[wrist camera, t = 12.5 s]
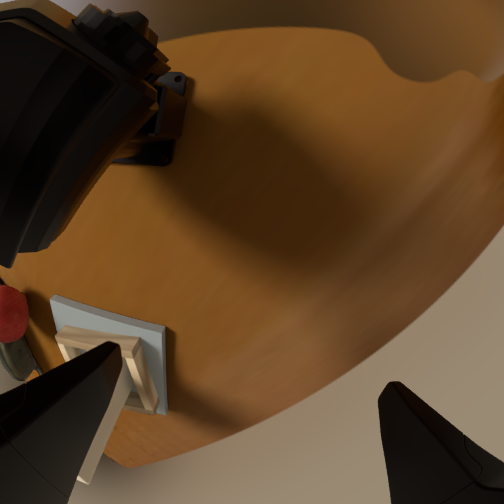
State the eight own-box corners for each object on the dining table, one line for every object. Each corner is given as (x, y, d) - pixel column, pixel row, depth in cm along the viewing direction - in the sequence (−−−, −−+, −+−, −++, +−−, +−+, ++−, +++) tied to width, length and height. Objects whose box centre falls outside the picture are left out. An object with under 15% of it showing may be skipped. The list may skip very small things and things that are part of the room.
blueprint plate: (76, 378, 25) (73, 383, 24) (55, 294, 21) (49, 299, 20) (167, 408, 26) (165, 415, 25) (165, 326, 22) (161, 333, 21)
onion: (47, 325, 23) (7, 369, 15) (17, 313, 23) (-22, 349, 15) (35, 278, 21) (-16, 317, 13) (5, 269, 21) (-41, 301, 13)
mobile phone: (-35, 288, 17) (17, 391, 22) (-26, 288, 17) (29, 397, 21) (-9, 272, 22) (34, 371, 26) (1, 271, 21) (47, 374, 26)
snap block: (89, 347, 22) (25, 441, 10) (123, 353, 22) (63, 462, 10) (101, 376, 23) (51, 467, 12) (134, 383, 23) (89, 484, 11)
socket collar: (65, 324, 21) (54, 336, 19) (139, 336, 21) (131, 351, 19) (92, 386, 24) (84, 398, 22) (159, 401, 24) (154, 415, 22)
